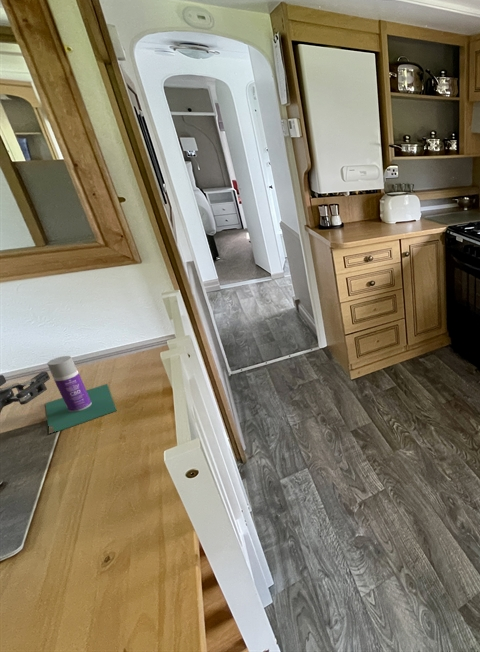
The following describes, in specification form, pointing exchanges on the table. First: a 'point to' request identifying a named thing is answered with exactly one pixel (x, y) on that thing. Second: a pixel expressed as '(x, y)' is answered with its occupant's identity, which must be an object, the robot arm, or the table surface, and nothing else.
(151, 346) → the table surface
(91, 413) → the napkin
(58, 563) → the table surface
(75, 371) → the container
